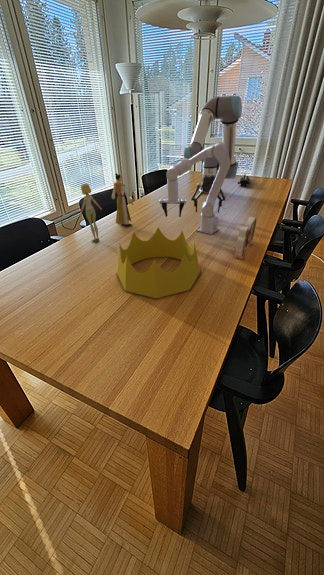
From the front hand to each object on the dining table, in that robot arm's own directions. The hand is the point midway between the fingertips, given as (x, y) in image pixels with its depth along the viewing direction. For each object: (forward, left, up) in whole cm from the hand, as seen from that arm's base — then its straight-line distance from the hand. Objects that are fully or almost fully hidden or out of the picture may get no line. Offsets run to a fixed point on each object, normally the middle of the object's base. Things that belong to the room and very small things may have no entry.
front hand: (173, 216), depth 149 cm
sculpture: (+26, +36, -8) cm, 45 cm away
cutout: (-44, +2, -8) cm, 45 cm away
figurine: (+29, +11, -8) cm, 32 cm away
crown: (-23, +43, -8) cm, 49 cm away
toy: (+8, -117, -8) cm, 118 cm away
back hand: (-7, -26, -4) cm, 28 cm away
